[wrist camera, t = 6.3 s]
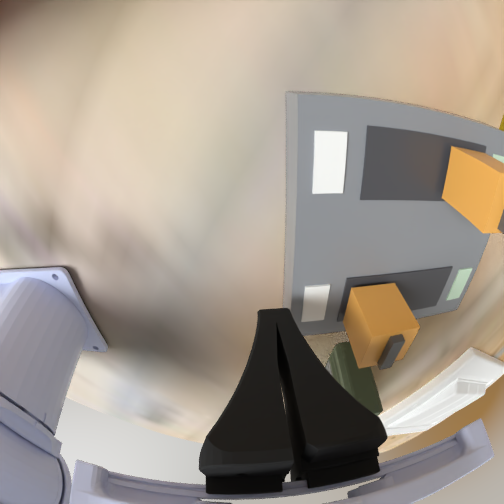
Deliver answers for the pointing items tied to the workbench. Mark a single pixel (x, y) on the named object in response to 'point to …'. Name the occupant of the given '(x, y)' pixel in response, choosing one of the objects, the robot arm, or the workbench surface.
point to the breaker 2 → (476, 188)
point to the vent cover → (444, 393)
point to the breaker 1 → (379, 325)
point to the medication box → (502, 124)
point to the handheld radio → (354, 377)
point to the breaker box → (375, 205)
